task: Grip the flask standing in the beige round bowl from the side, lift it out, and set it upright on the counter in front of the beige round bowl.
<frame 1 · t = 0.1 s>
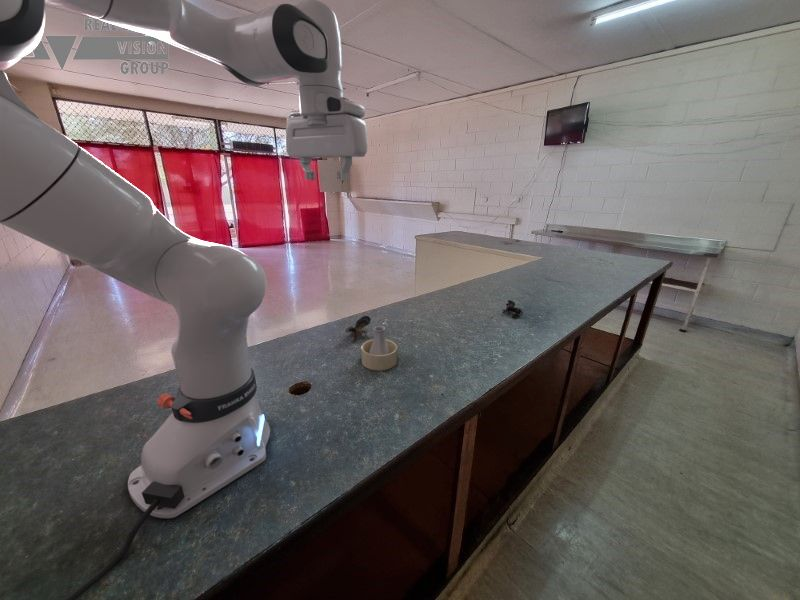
hand: (326, 180, 69), 48 cm above the counter, tool pointing down, fingers open, 8 cm apart
horse figurine: (507, 315, 124), on the counter
flask: (379, 360, 90), resting in beige round bowl
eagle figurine: (359, 336, 104), on the counter
beige round bowl: (379, 360, 90), on the counter
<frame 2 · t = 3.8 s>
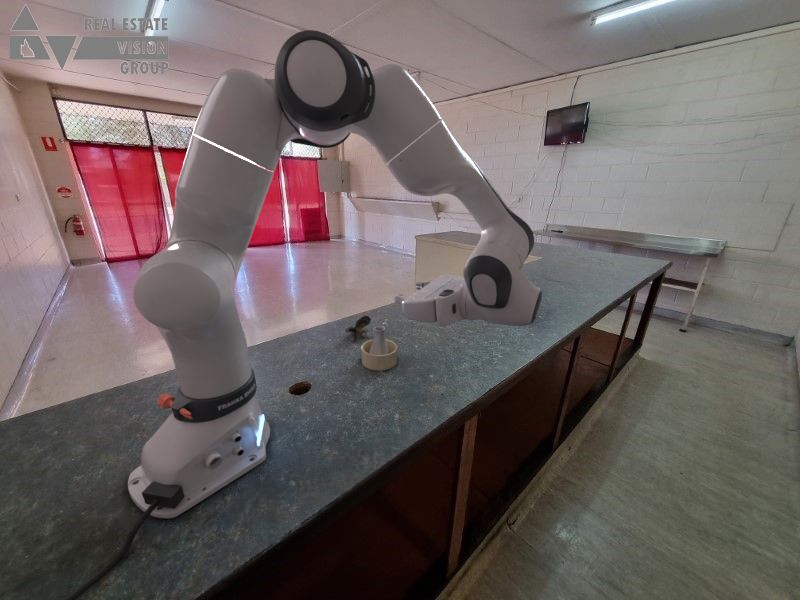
hand: (407, 291, 76), 23 cm above the counter, tool horizontal, fingers open, 8 cm apart
nothing on the counter moved.
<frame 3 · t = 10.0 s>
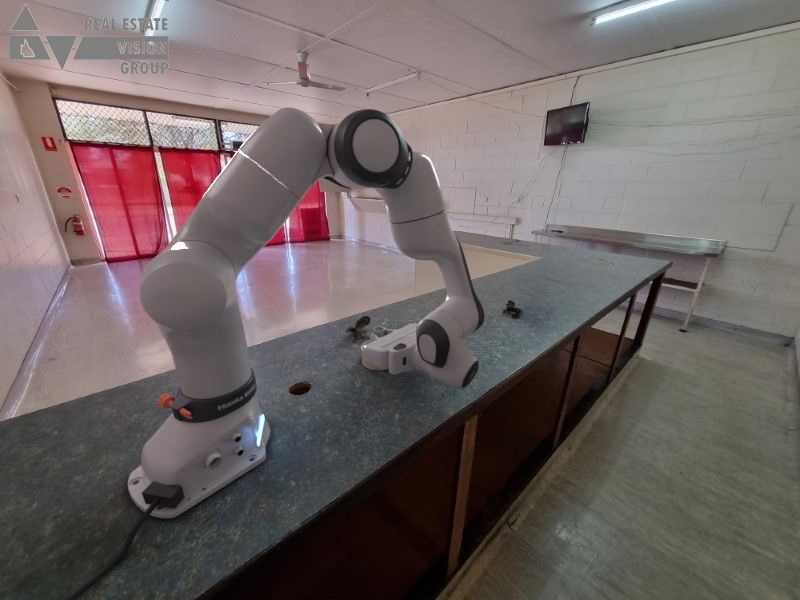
hand: (377, 333, 88), 8 cm above the counter, tool horizontal, fingers closed on flask, 2 cm apart
flask: (379, 360, 90), resting in beige round bowl, touching gripper
everything else where it was.
when the fingers open (8 cm above the counter, at t = 16.4 s): flask stays where it is, on the counter.
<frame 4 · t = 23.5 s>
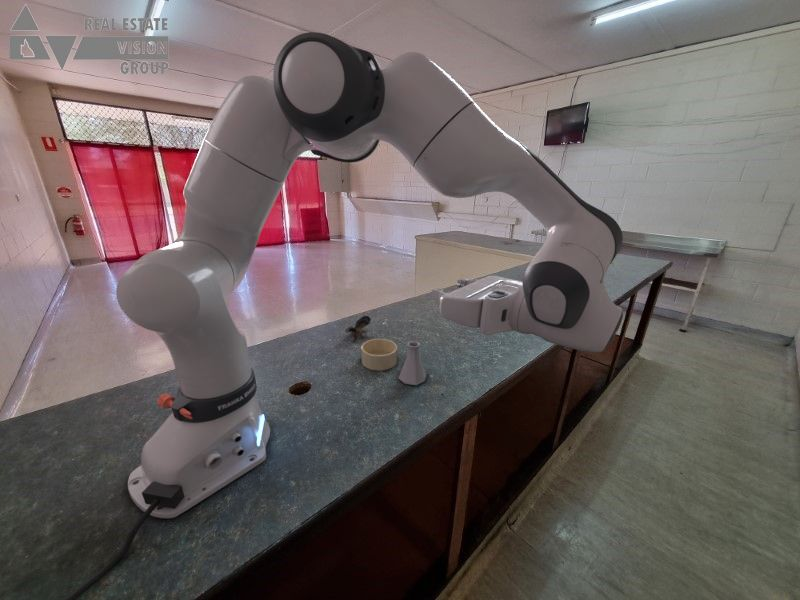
hand: (446, 287, 65), 28 cm above the counter, tool horizontal, fingers open, 8 cm apart
flask: (412, 378, 83), on the counter
everything else where it was.
at the end: flask inside the target area (0.2 cm from its centre), on the counter; flask tilted 0°; the gripper is holding nothing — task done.
